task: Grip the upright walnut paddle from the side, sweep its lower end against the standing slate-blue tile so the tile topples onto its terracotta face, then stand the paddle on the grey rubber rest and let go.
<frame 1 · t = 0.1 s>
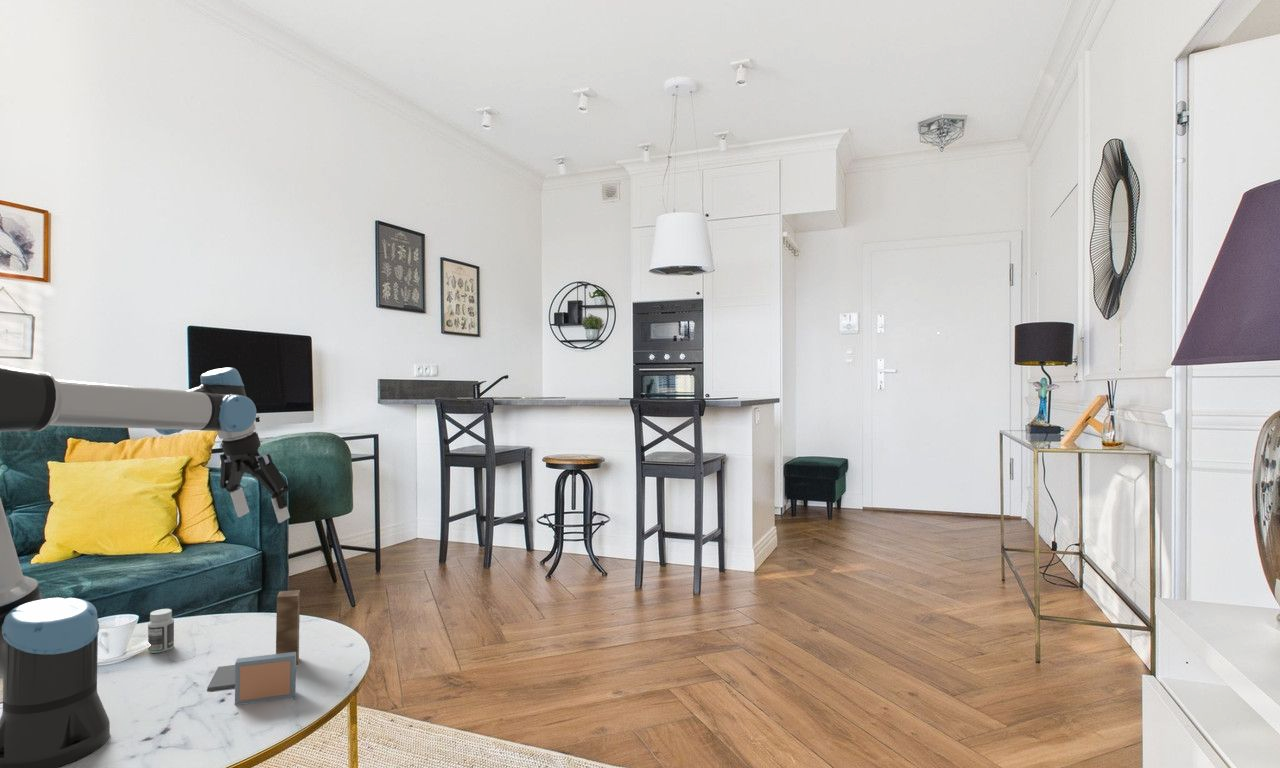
hand: (263, 517, 160), 28 cm above the table, tool tilted 20°, fingers open, 13 cm apart
pill bottle: (160, 650, 150), on the table
rest: (241, 676, 137), on the table
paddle: (287, 663, 144), on the table
tile: (265, 698, 128), on the table
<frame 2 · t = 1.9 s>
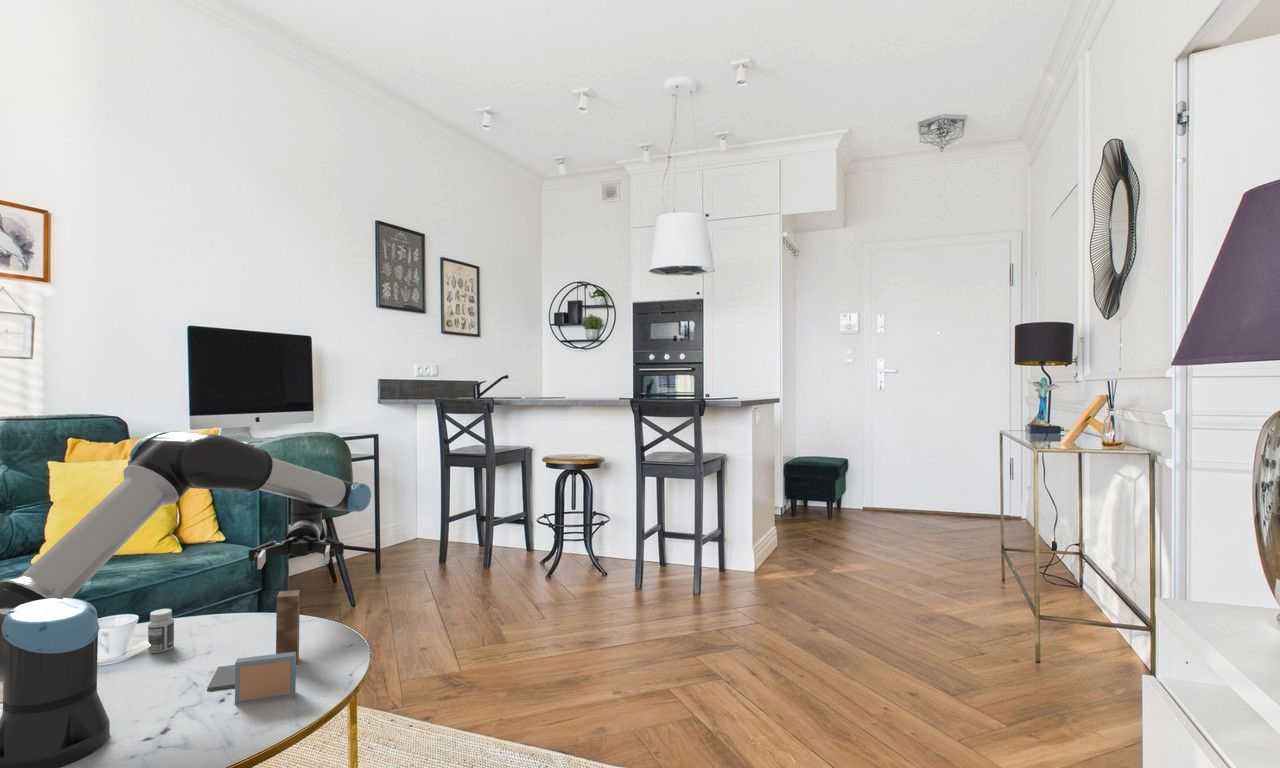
hand: (293, 560, 152), 20 cm above the table, tool horizontal, fingers open, 13 cm apart
nothing on the table moved.
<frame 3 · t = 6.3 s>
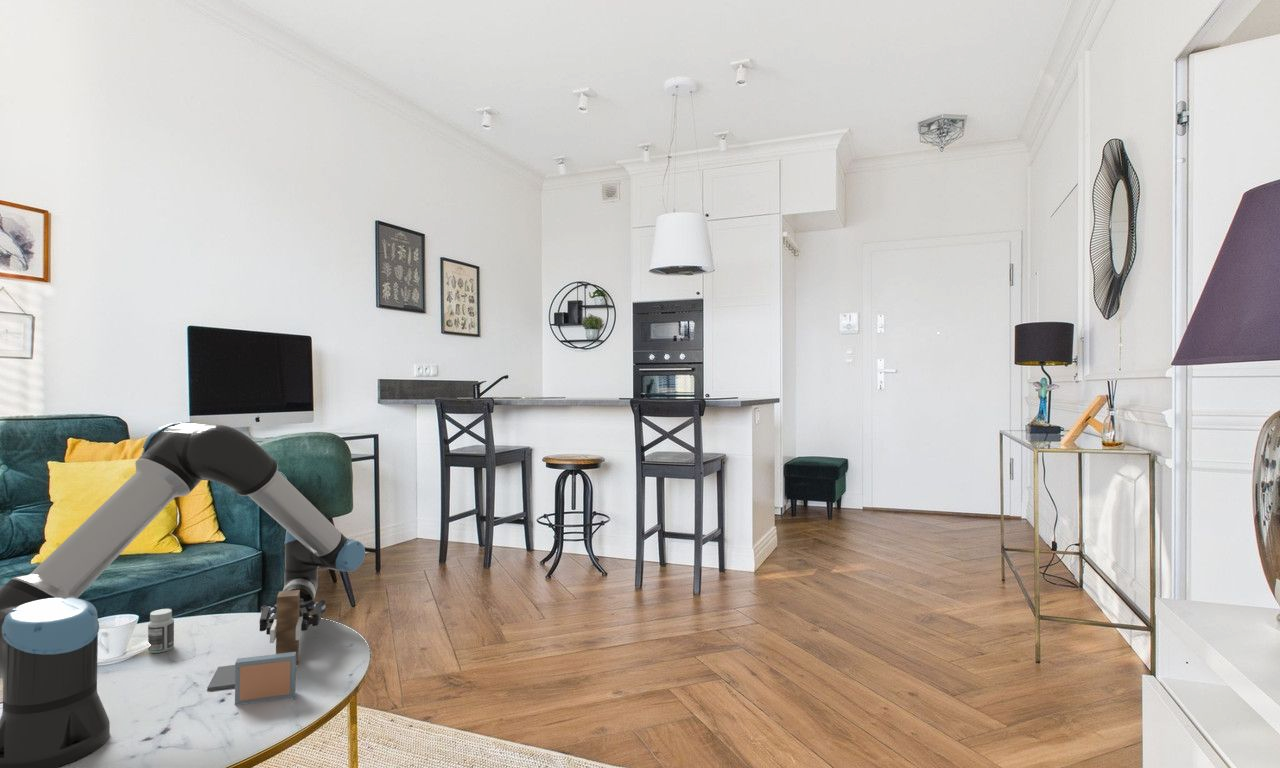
hand: (285, 635, 139), 8 cm above the table, tool horizontal, fingers closed on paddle, 4 cm apart
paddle: (287, 663, 144), on the table, touching gripper
everything else where it was.
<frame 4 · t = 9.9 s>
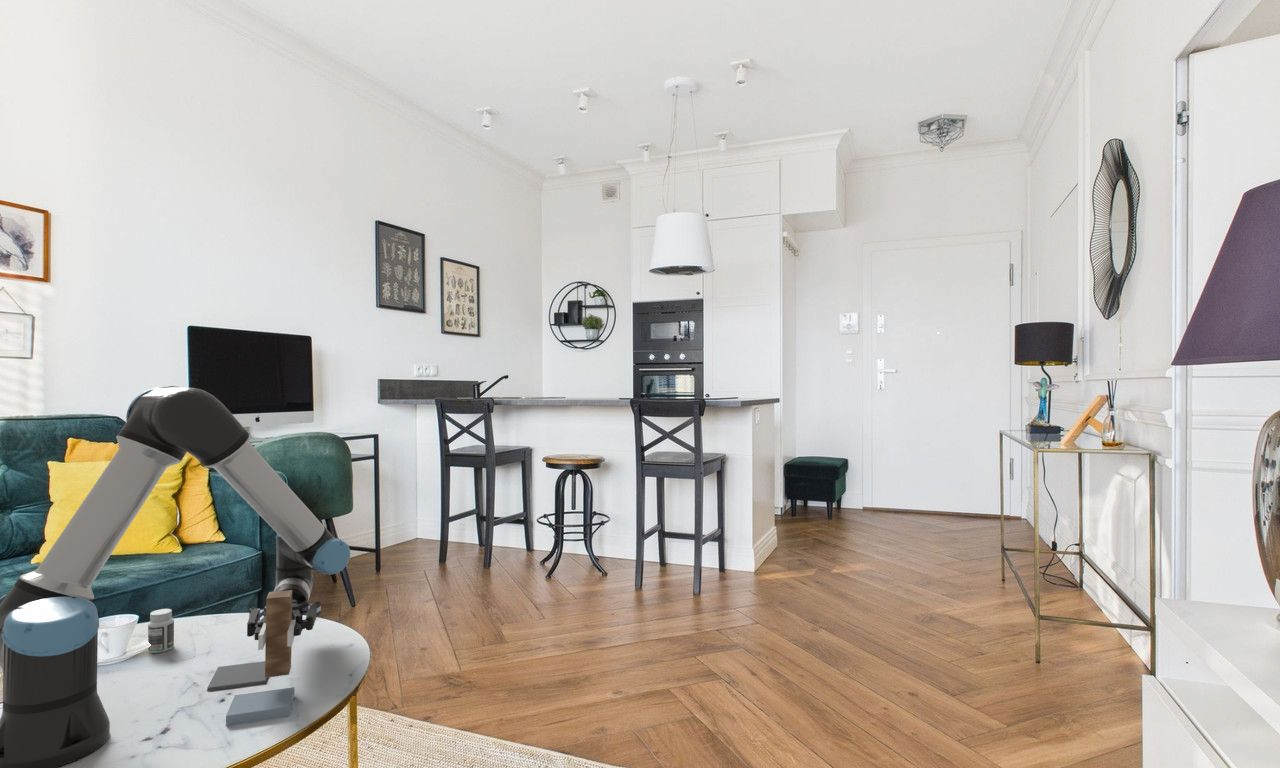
hand: (275, 640, 124), 13 cm above the table, tool horizontal, fingers closed on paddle, 4 cm apart
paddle: (278, 671, 129), point 5 cm above the table, touching gripper
tile: (265, 696, 127), point 1 cm above the table, tilted 90°
everything else where it was.
when the fingers open (9 cm above the table, at t = 14.4 s): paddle stays where it is, resting on rest.
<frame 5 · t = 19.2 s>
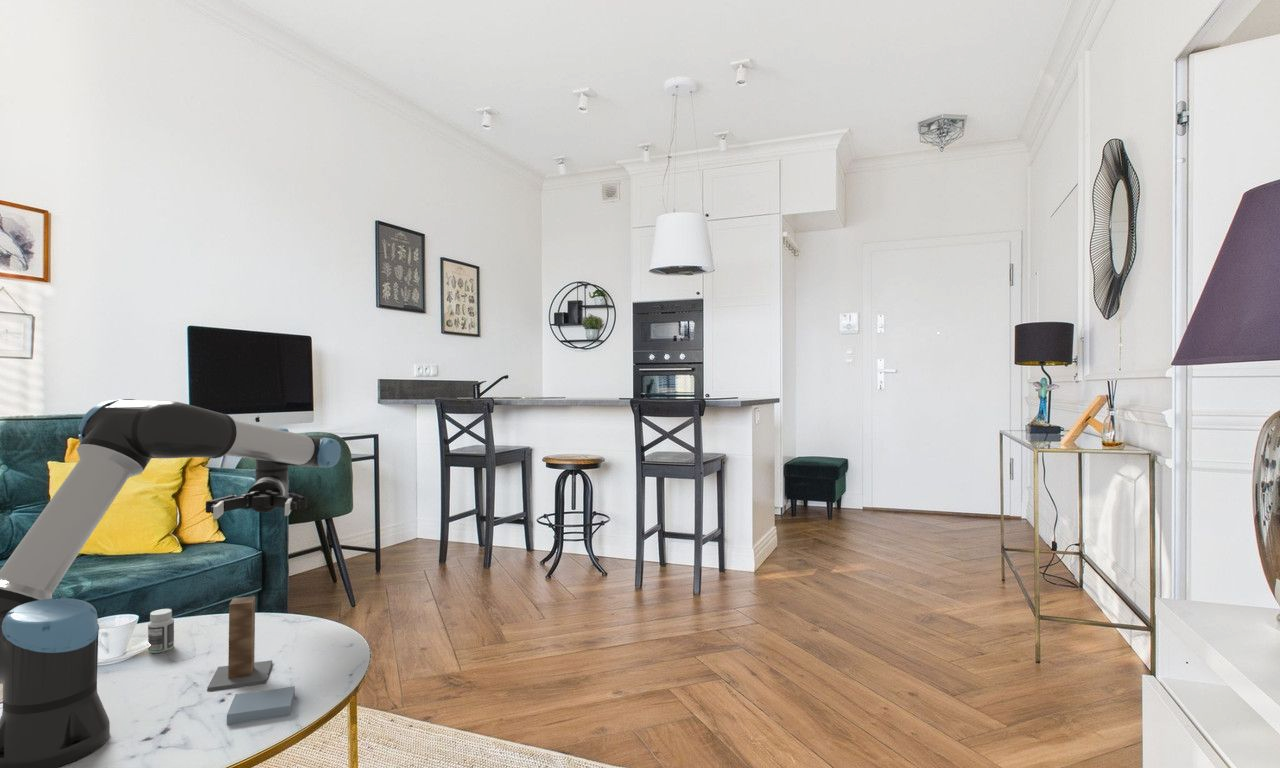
hand: (251, 511, 146), 32 cm above the table, tool horizontal, fingers open, 13 cm apart
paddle: (241, 673, 137), point 1 cm above the table, touching rest
at the end: tile tilted 90°; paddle 0.1 cm from the rest (horizontally); the gripper is holding nothing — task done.
